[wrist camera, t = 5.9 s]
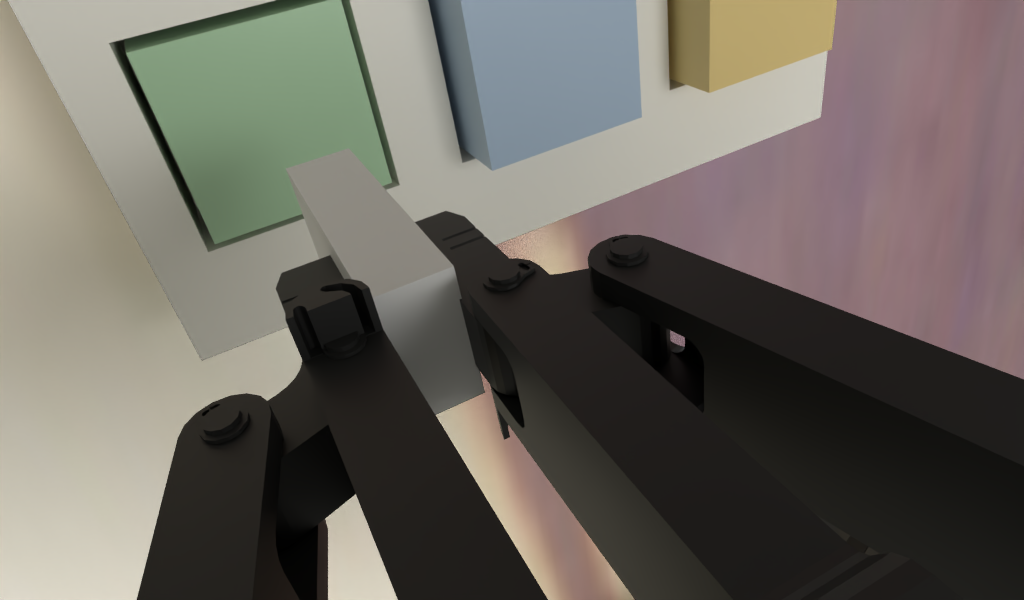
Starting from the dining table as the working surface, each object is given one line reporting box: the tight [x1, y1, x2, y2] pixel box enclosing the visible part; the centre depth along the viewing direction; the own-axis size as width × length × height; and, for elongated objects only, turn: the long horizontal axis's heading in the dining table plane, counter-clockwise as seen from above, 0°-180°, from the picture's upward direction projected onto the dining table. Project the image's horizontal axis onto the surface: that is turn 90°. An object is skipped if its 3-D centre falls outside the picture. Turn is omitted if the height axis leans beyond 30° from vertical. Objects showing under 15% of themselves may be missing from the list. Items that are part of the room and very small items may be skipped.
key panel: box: [8, 0, 827, 360], centre depth 26 cm, size 28×14×6 cm, turn 99°
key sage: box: [124, 0, 392, 244], centre depth 23 cm, size 6×6×4 cm
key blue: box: [428, 0, 642, 171], centre depth 24 cm, size 6×6×4 cm
